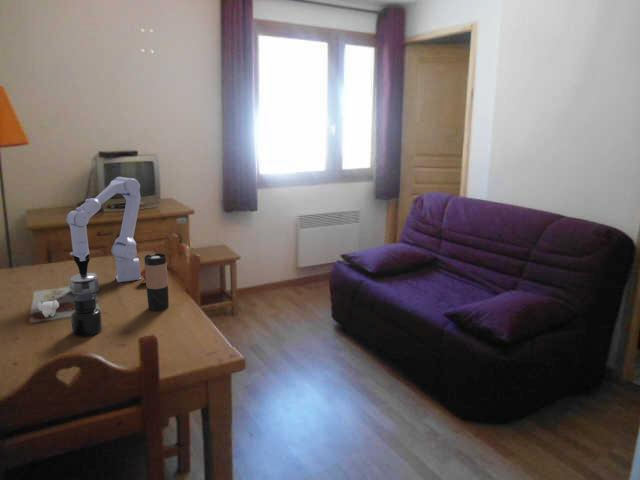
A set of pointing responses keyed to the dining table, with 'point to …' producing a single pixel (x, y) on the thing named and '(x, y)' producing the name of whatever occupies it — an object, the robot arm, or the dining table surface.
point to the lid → (83, 278)
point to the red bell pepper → (143, 275)
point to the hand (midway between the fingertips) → (83, 273)
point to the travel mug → (156, 282)
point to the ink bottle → (85, 316)
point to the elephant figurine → (48, 307)
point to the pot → (84, 287)
